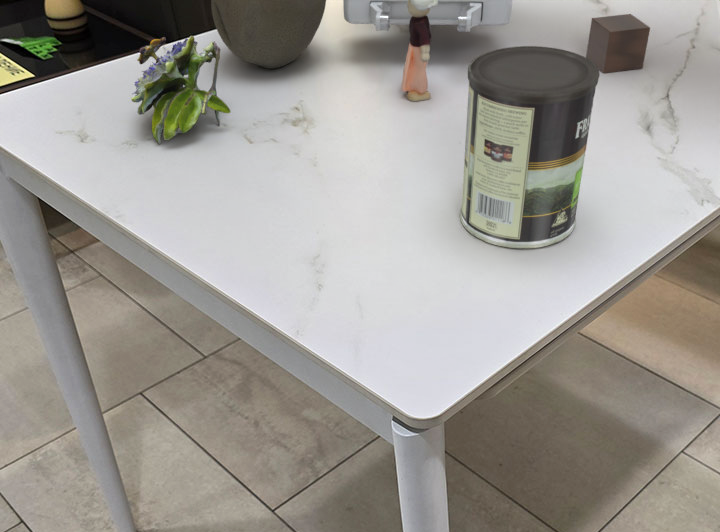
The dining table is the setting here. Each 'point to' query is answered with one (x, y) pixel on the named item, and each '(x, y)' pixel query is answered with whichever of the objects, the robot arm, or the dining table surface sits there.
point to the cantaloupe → (267, 28)
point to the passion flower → (176, 87)
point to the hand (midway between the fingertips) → (422, 24)
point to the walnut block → (617, 43)
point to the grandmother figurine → (418, 50)
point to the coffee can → (526, 144)
